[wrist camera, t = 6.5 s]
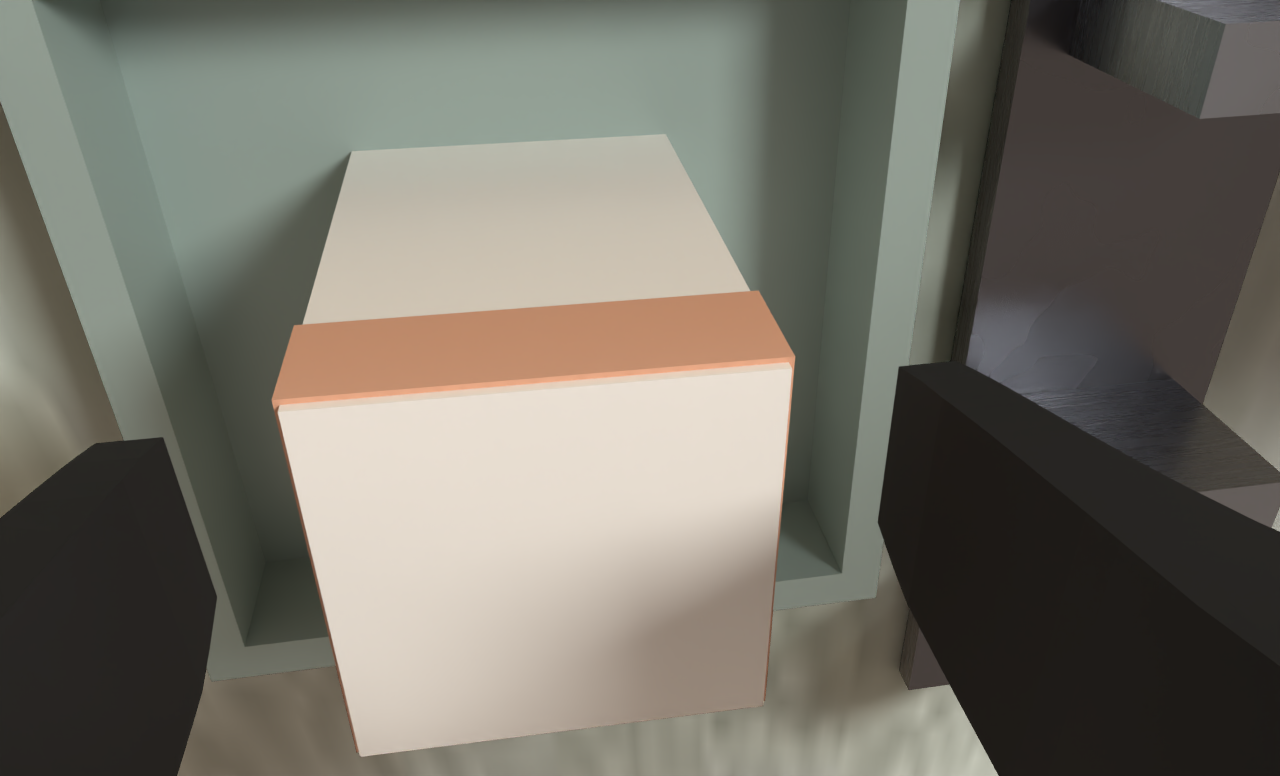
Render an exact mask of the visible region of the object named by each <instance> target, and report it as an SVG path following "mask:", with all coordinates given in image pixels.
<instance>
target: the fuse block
mask: <svg viewBox="0 0 1280 776" xmlns="http://www.w3.org/2000/svg"><path fill="white" fill-rule="evenodd" d="M1279 172H1280V0H1011V5H1010V11H1009V17H1008V23H1007V29H1006V35H1005V41H1004V47H1003V53H1002V59H1001V65H1000V71H999V77H998V83H997V89H996V95H995V101H994V107H993V113H992V119H991V125H990V131H989V137H988V143H987V149H986V154H985V160H984V166H983V172H982V178H981V184H980V190H979V196H978V202H977V208H976V214H975V220H974V226H973V232H972V238H971V244H970V250H969V256H968V262H967V268H966V274H965V280H964V286H963V292H962V298H961V304H960V310H959V316H958V322H957V328H956V334H955V340H954V346H953V352H952V358H951V361H957V362H960V363H962V364H964V365H966V366H968V367H970V368H972V369H974V370H976V371H978V372H980V373H982V374H984V375H986V376H988V377H990V378H992V379H994V380H995V381H997V382H999V383H1001V384H1003V385H1004V386H1006V387H1008V388H1010V389H1012V390H1013V391H1015V392H1017V393H1019V394H1020V395H1022V396H1024V397H1026V398H1028V399H1029V400H1031V401H1033V402H1035V403H1036V404H1038V405H1040V406H1041V407H1043V408H1045V409H1047V410H1048V411H1050V412H1052V413H1054V414H1055V415H1057V416H1059V417H1061V418H1062V419H1064V420H1066V421H1068V422H1069V423H1071V424H1073V425H1075V426H1076V427H1078V428H1080V429H1082V430H1083V431H1085V432H1087V433H1089V434H1090V435H1092V436H1094V437H1096V438H1098V439H1099V440H1101V441H1103V442H1105V443H1107V444H1108V445H1110V446H1112V447H1114V448H1115V449H1117V450H1119V451H1121V452H1123V453H1124V454H1126V455H1128V456H1130V457H1132V458H1134V459H1135V460H1137V461H1139V462H1141V463H1143V464H1145V465H1146V466H1148V467H1150V468H1152V469H1154V470H1156V471H1158V472H1160V473H1162V474H1163V475H1165V476H1167V477H1169V478H1171V479H1173V480H1175V481H1177V482H1179V483H1180V484H1182V485H1184V486H1186V487H1188V488H1190V489H1192V490H1194V491H1196V492H1198V493H1200V494H1202V495H1204V496H1206V497H1208V498H1210V499H1212V500H1215V501H1217V502H1219V503H1221V504H1223V505H1225V506H1227V507H1229V508H1231V509H1233V510H1235V511H1237V512H1239V513H1241V514H1243V515H1245V516H1247V517H1249V518H1251V519H1253V520H1255V521H1257V522H1259V523H1261V524H1264V525H1266V526H1268V527H1270V528H1271V527H1272V525H1273V522H1274V520H1275V517H1276V515H1277V512H1278V510H1279V508H1280V472H1279V471H1278V470H1277V469H1276V468H1274V467H1273V466H1272V465H1271V464H1270V463H1269V462H1268V461H1266V460H1265V459H1264V458H1263V457H1262V456H1261V455H1260V454H1258V453H1257V452H1256V451H1255V450H1254V449H1253V448H1252V447H1250V446H1249V445H1248V444H1247V443H1246V442H1245V441H1244V440H1242V439H1241V438H1240V437H1239V436H1238V435H1237V434H1236V433H1234V432H1233V431H1232V430H1231V429H1230V428H1229V427H1228V426H1226V425H1225V424H1224V423H1223V422H1222V421H1221V420H1220V419H1218V418H1217V417H1216V416H1215V415H1214V414H1213V413H1212V412H1210V411H1209V410H1208V409H1207V408H1206V407H1205V406H1204V405H1202V404H1203V401H1204V398H1205V395H1206V392H1207V389H1208V386H1209V383H1210V380H1211V377H1212V374H1213V371H1214V368H1215V365H1216V362H1217V359H1218V356H1219V353H1220V350H1221V347H1222V344H1223V341H1224V338H1225V335H1226V332H1227V329H1228V326H1229V323H1230V320H1231V317H1232V314H1233V311H1234V308H1235V305H1236V302H1237V299H1238V296H1239V293H1240V290H1241V287H1242V284H1243V281H1244V278H1245V274H1246V271H1247V268H1248V265H1249V262H1250V259H1251V256H1252V253H1253V250H1254V247H1255V244H1256V241H1257V238H1258V235H1259V232H1260V229H1261V226H1262V223H1263V220H1264V217H1265V214H1266V211H1267V208H1268V205H1269V202H1270V199H1271V196H1272V193H1273V190H1274V187H1275V184H1276V181H1277V178H1278V175H1279ZM899 671H900V673H901V675H902V677H903V680H904V682H905V684H906V686H907V688H908V690H912V689H920V688H927V687H934V686H941V685H949V682H948V681H947V679H946V677H945V675H944V673H943V671H942V669H941V668H940V666H939V664H938V662H937V660H936V658H935V656H934V654H933V652H932V650H931V649H930V647H929V645H928V643H927V641H926V639H925V637H924V635H923V633H922V632H921V630H920V628H919V626H918V624H917V622H916V620H915V618H914V616H913V614H912V612H911V610H910V609H909V615H908V621H907V627H906V633H905V639H904V645H903V651H902V657H901V663H900V669H899Z"/></svg>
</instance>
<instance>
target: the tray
mask: <svg viewBox="0 0 1280 776" xmlns="http://www.w3.org/2000/svg"><path fill="white" fill-rule="evenodd" d="M959 4H960V0H0V102H1V105H2V107H3V110H4V113H5V116H6V118H7V121H8V124H9V127H10V129H11V132H12V135H13V138H14V140H15V143H16V146H17V149H18V151H19V154H20V157H21V160H22V162H23V165H24V168H25V171H26V173H27V176H28V179H29V182H30V184H31V187H32V190H33V193H34V195H35V198H36V201H37V204H38V206H39V209H40V212H41V215H42V217H43V220H44V223H45V226H46V228H47V231H48V234H49V237H50V239H51V242H52V245H53V248H54V250H55V253H56V256H57V258H58V261H59V264H60V267H61V269H62V272H63V275H64V278H65V280H66V283H67V286H68V289H69V291H70V294H71V297H72V300H73V302H74V305H75V308H76V311H77V313H78V316H79V319H80V322H81V324H82V327H83V330H84V333H85V335H86V338H87V341H88V344H89V346H90V349H91V352H92V355H93V357H94V360H95V363H96V366H97V368H98V371H99V374H100V377H101V379H102V382H103V385H104V388H105V390H106V393H107V396H108V399H109V401H110V404H111V407H112V410H113V412H114V415H115V418H116V421H117V423H118V426H119V429H120V431H121V434H122V437H123V440H124V441H126V440H137V439H147V438H158V437H163V438H164V441H165V444H166V447H167V450H168V453H169V456H170V459H171V462H172V465H173V468H174V471H175V474H176V477H177V480H178V482H179V485H180V488H181V491H182V494H183V497H184V500H185V503H186V506H187V509H188V512H189V515H190V518H191V521H192V524H193V527H194V530H195V533H196V536H197V539H198V541H199V544H200V547H201V550H202V553H203V556H204V559H205V562H206V565H207V568H208V571H209V574H210V577H211V580H212V583H213V586H214V589H215V592H216V595H217V603H216V609H215V616H214V623H213V630H212V637H211V644H210V650H209V656H208V662H207V667H206V668H207V670H208V673H209V676H210V679H211V681H220V680H228V679H236V678H244V677H252V676H260V675H268V674H276V673H284V672H292V671H299V670H307V669H315V668H323V667H331V666H336V665H335V661H334V657H333V653H332V648H331V644H330V640H329V636H328V632H327V628H326V624H325V619H324V615H323V611H322V607H321V603H320V599H319V595H318V590H317V586H316V582H315V578H314V574H313V570H312V566H311V561H310V557H309V553H308V549H307V545H306V541H305V537H304V532H303V528H302V524H301V520H300V516H299V512H298V508H297V503H296V499H295V495H294V491H293V487H292V483H291V479H290V474H289V470H288V466H287V462H286V458H285V454H284V450H283V445H282V441H281V437H280V433H279V429H278V425H277V421H276V416H275V412H274V408H273V404H272V397H273V393H274V390H275V387H276V383H277V380H278V377H279V373H280V370H281V367H282V363H283V360H284V357H285V353H286V350H287V347H288V343H289V340H290V337H291V333H292V330H293V327H294V325H302V324H303V321H304V317H305V314H306V310H307V307H308V303H309V300H310V296H311V293H312V289H313V286H314V282H315V279H316V275H317V272H318V268H319V265H320V261H321V258H322V254H323V251H324V247H325V243H326V240H327V236H328V233H329V229H330V226H331V222H332V219H333V215H334V212H335V208H336V205H337V201H338V198H339V194H340V191H341V187H342V184H343V180H344V177H345V173H346V170H347V166H348V162H349V159H350V155H351V152H352V151H366V150H384V149H402V148H421V147H439V146H457V145H476V144H494V143H512V142H531V141H549V140H567V139H586V138H604V137H622V136H641V135H659V134H666V136H667V137H668V139H669V141H670V143H671V145H672V147H673V149H674V150H675V152H676V154H677V156H678V158H679V160H680V162H681V163H682V165H683V167H684V169H685V171H686V173H687V175H688V176H689V178H690V180H691V182H692V184H693V186H694V188H695V189H696V191H697V193H698V195H699V197H700V199H701V200H702V202H703V204H704V206H705V208H706V210H707V212H708V213H709V215H710V217H711V219H712V221H713V223H714V225H715V226H716V228H717V230H718V232H719V234H720V236H721V238H722V239H723V241H724V243H725V245H726V247H727V249H728V251H729V252H730V254H731V256H732V258H733V260H734V262H735V263H736V265H737V267H738V269H739V271H740V273H741V275H742V276H743V278H744V280H745V282H746V284H747V286H748V288H749V289H750V291H759V292H760V294H761V296H762V298H763V299H764V301H765V303H766V305H767V306H768V308H769V310H770V312H771V314H772V315H773V317H774V319H775V321H776V323H777V324H778V326H779V328H780V330H781V332H782V333H783V335H784V337H785V339H786V341H787V342H788V344H789V346H790V348H791V350H792V351H793V353H794V355H795V365H794V376H793V388H792V399H791V411H790V422H789V434H788V445H787V456H786V468H785V479H784V491H783V502H782V514H781V525H780V536H779V548H778V559H777V571H776V582H775V594H774V605H773V611H775V610H783V609H791V608H799V607H807V606H815V605H823V604H831V603H839V602H847V601H855V600H862V599H870V598H876V593H877V586H878V579H879V571H880V564H881V557H882V550H883V543H884V539H883V537H882V534H881V531H880V528H879V525H878V515H879V508H880V501H881V493H882V486H883V479H884V471H885V464H886V457H887V449H888V442H889V435H890V427H891V420H892V413H893V405H894V398H895V391H896V383H897V376H898V368H899V366H909V359H910V352H911V345H912V338H913V330H914V323H915V316H916V309H917V302H918V295H919V288H920V281H921V274H922V267H923V260H924V253H925V245H926V238H927V231H928V224H929V217H930V210H931V203H932V196H933V189H934V182H935V175H936V167H937V160H938V153H939V146H940V139H941V132H942V125H943V118H944V111H945V104H946V97H947V90H948V82H949V75H950V68H951V61H952V54H953V47H954V40H955V33H956V26H957V19H958V12H959Z"/></svg>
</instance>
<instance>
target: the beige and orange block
mask: <svg viewBox="0 0 1280 776" xmlns="http://www.w3.org/2000/svg"><path fill="white" fill-rule="evenodd" d="M794 365H795V355H794V353H793V351H792V350H791V348H790V346H789V344H788V342H787V341H786V339H785V337H784V335H783V333H782V332H781V330H780V328H779V326H778V324H777V323H776V321H775V319H774V317H773V315H772V314H771V312H770V310H769V308H768V306H767V305H766V303H765V301H764V299H763V298H762V296H761V294H760V292H759V291H750V289H749V288H748V286H747V284H746V282H745V280H744V278H743V276H742V275H741V273H740V271H739V269H738V267H737V265H736V263H735V262H734V260H733V258H732V256H731V254H730V252H729V251H728V249H727V247H726V245H725V243H724V241H723V239H722V238H721V236H720V234H719V232H718V230H717V228H716V226H715V225H714V223H713V221H712V219H711V217H710V215H709V213H708V212H707V210H706V208H705V206H704V204H703V202H702V200H701V199H700V197H699V195H698V193H697V191H696V189H695V188H694V186H693V184H692V182H691V180H690V178H689V176H688V175H687V173H686V171H685V169H684V167H683V165H682V163H681V162H680V160H679V158H678V156H677V154H676V152H675V150H674V149H673V147H672V145H671V143H670V141H669V139H668V137H667V136H666V134H659V135H641V136H622V137H604V138H586V139H567V140H549V141H531V142H512V143H494V144H476V145H457V146H439V147H421V148H402V149H384V150H366V151H352V152H351V155H350V159H349V162H348V166H347V170H346V173H345V177H344V180H343V184H342V187H341V191H340V194H339V198H338V201H337V205H336V208H335V212H334V215H333V219H332V222H331V226H330V229H329V233H328V236H327V240H326V243H325V247H324V251H323V254H322V258H321V261H320V265H319V268H318V272H317V275H316V279H315V282H314V286H313V289H312V293H311V296H310V300H309V303H308V307H307V310H306V314H305V317H304V321H303V324H302V325H294V327H293V330H292V333H291V337H290V340H289V343H288V347H287V350H286V353H285V357H284V360H283V363H282V367H281V370H280V373H279V377H278V380H277V383H276V387H275V390H274V393H273V397H272V404H273V408H274V412H275V416H276V421H277V425H278V429H279V433H280V437H281V441H282V445H283V450H284V454H285V458H286V462H287V466H288V470H289V474H290V479H291V483H292V487H293V491H294V495H295V499H296V503H297V508H298V512H299V516H300V520H301V524H302V528H303V532H304V537H305V541H306V545H307V549H308V553H309V557H310V561H311V566H312V570H313V574H314V578H315V582H316V586H317V590H318V595H319V599H320V603H321V607H322V611H323V615H324V619H325V624H326V628H327V632H328V636H329V640H330V644H331V648H332V653H333V657H334V661H335V665H336V669H337V673H338V677H339V682H340V686H341V690H342V694H343V698H344V702H345V706H346V711H347V715H348V719H349V723H350V727H351V731H352V735H353V740H354V744H355V748H356V752H359V754H360V757H363V756H371V755H379V754H387V753H395V752H403V751H411V750H419V749H427V748H435V747H443V746H450V745H458V744H466V743H474V742H482V741H490V740H498V739H506V738H514V737H522V736H530V735H537V734H545V733H553V732H561V731H569V730H577V729H585V728H593V727H601V726H609V725H617V724H625V723H632V722H640V721H648V720H656V719H664V718H672V717H680V716H688V715H696V714H704V713H712V712H720V711H727V710H735V709H743V708H751V707H759V706H763V701H765V696H766V685H767V674H768V662H769V651H770V639H771V628H772V616H773V605H774V594H775V582H776V571H777V559H778V548H779V536H780V525H781V514H782V502H783V491H784V479H785V468H786V456H787V445H788V434H789V422H790V411H791V399H792V388H793V376H794Z"/></svg>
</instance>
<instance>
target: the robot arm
mask: <svg viewBox="0 0 1280 776" xmlns="http://www.w3.org/2000/svg"><path fill="white" fill-rule="evenodd" d="M878 525H879V528H880V531H881V534H882V537H883V539H884V542H885V545H886V548H887V551H888V554H889V556H890V559H891V562H892V565H893V568H894V570H895V573H896V576H897V578H898V581H899V583H900V586H901V589H902V591H903V594H904V596H905V599H906V601H907V604H908V606H909V608H910V610H911V612H912V614H913V616H914V618H915V620H916V622H917V624H918V626H919V628H920V630H921V632H922V633H923V635H924V637H925V639H926V641H927V643H928V645H929V647H930V649H931V650H932V652H933V654H934V656H935V658H936V660H937V662H938V664H939V666H940V668H941V669H942V671H943V673H944V675H945V677H946V679H947V681H948V682H949V684H950V686H951V688H952V690H953V692H954V694H955V695H956V697H957V699H958V701H959V703H960V705H961V707H962V708H963V710H964V712H965V714H966V716H967V718H968V720H969V721H970V723H971V725H972V727H973V729H974V731H975V732H976V734H977V736H978V738H979V740H980V742H981V744H982V745H983V747H984V749H985V751H986V753H987V755H988V757H989V758H990V760H991V762H992V764H993V766H994V768H995V770H996V771H997V773H998V775H999V776H1280V532H1279V531H1277V530H1275V529H1272V528H1270V527H1268V526H1266V525H1264V524H1261V523H1259V522H1257V521H1255V520H1253V519H1251V518H1249V517H1247V516H1245V515H1243V514H1241V513H1239V512H1237V511H1235V510H1233V509H1231V508H1229V507H1227V506H1225V505H1223V504H1221V503H1219V502H1217V501H1215V500H1212V499H1210V498H1208V497H1206V496H1204V495H1202V494H1200V493H1198V492H1196V491H1194V490H1192V489H1190V488H1188V487H1186V486H1184V485H1182V484H1180V483H1179V482H1177V481H1175V480H1173V479H1171V478H1169V477H1167V476H1165V475H1163V474H1162V473H1160V472H1158V471H1156V470H1154V469H1152V468H1150V467H1148V466H1146V465H1145V464H1143V463H1141V462H1139V461H1137V460H1135V459H1134V458H1132V457H1130V456H1128V455H1126V454H1124V453H1123V452H1121V451H1119V450H1117V449H1115V448H1114V447H1112V446H1110V445H1108V444H1107V443H1105V442H1103V441H1101V440H1099V439H1098V438H1096V437H1094V436H1092V435H1090V434H1089V433H1087V432H1085V431H1083V430H1082V429H1080V428H1078V427H1076V426H1075V425H1073V424H1071V423H1069V422H1068V421H1066V420H1064V419H1062V418H1061V417H1059V416H1057V415H1055V414H1054V413H1052V412H1050V411H1048V410H1047V409H1045V408H1043V407H1041V406H1040V405H1038V404H1036V403H1035V402H1033V401H1031V400H1029V399H1028V398H1026V397H1024V396H1022V395H1020V394H1019V393H1017V392H1015V391H1013V390H1012V389H1010V388H1008V387H1006V386H1004V385H1003V384H1001V383H999V382H997V381H995V380H994V379H992V378H990V377H988V376H986V375H984V374H982V373H980V372H978V371H976V370H974V369H972V368H970V367H968V366H966V365H964V364H962V363H960V362H957V361H951V362H941V363H930V364H920V365H909V366H899V368H898V376H897V383H896V391H895V398H894V405H893V413H892V420H891V427H890V435H889V442H888V449H887V457H886V464H885V471H884V479H883V486H882V493H881V501H880V508H879V515H878ZM216 603H217V595H216V592H215V589H214V586H213V583H212V580H211V577H210V574H209V571H208V568H207V565H206V562H205V559H204V556H203V553H202V550H201V547H200V544H199V541H198V539H197V536H196V533H195V530H194V527H193V524H192V521H191V518H190V515H189V512H188V509H187V506H186V503H185V500H184V497H183V494H182V491H181V488H180V485H179V482H178V480H177V477H176V474H175V471H174V468H173V465H172V462H171V459H170V456H169V453H168V450H167V447H166V444H165V441H164V438H163V437H158V438H147V439H137V440H126V441H116V442H106V443H96V444H94V445H93V446H91V447H90V448H88V449H87V450H86V451H84V452H83V453H81V454H80V455H78V456H77V457H76V458H74V459H73V460H72V461H70V462H69V463H68V464H66V465H65V466H64V467H63V468H61V469H60V470H59V471H58V472H56V473H55V474H54V475H52V476H51V477H50V478H49V479H47V480H46V481H45V482H44V483H43V484H41V485H40V486H39V487H38V488H36V489H35V490H34V491H33V492H31V493H30V494H29V495H28V496H27V497H25V498H24V499H23V500H22V501H20V502H19V503H18V504H17V505H16V506H14V507H13V508H12V509H11V510H10V511H8V512H7V513H6V514H5V515H3V516H2V517H1V518H0V776H177V774H178V771H179V768H180V764H181V761H182V758H183V754H184V751H185V748H186V744H187V741H188V738H189V735H190V731H191V728H192V725H193V721H194V718H195V715H196V711H197V708H198V704H199V701H200V698H201V694H202V690H203V684H204V679H205V673H206V667H207V662H208V656H209V650H210V644H211V637H212V630H213V623H214V616H215V609H216Z"/></svg>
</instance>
